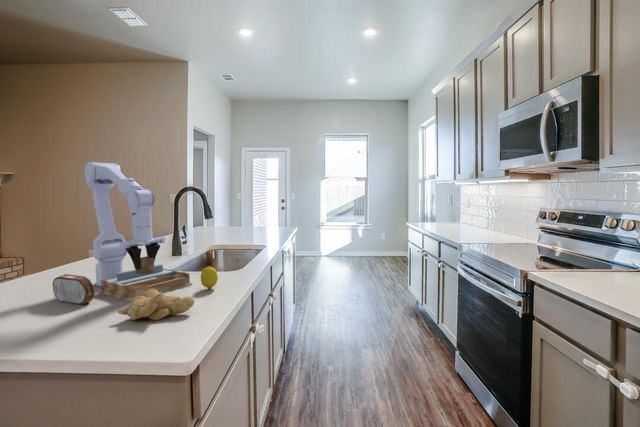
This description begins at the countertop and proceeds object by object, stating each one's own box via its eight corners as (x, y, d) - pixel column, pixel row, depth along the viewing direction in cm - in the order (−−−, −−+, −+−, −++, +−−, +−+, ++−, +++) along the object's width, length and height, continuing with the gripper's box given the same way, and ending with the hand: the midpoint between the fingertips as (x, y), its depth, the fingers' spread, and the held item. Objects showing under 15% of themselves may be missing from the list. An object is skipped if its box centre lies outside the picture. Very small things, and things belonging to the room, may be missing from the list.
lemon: (213, 291, 119) (212, 268, 119) (197, 291, 121) (197, 267, 120) (220, 287, 125) (220, 264, 124) (206, 286, 126) (205, 264, 125)
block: (142, 274, 116) (142, 259, 115) (135, 273, 118) (135, 258, 118) (154, 272, 119) (153, 257, 119) (147, 271, 121) (147, 256, 121)
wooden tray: (99, 292, 120) (99, 280, 120) (161, 278, 139) (161, 267, 139) (130, 301, 110) (129, 288, 110) (192, 284, 129) (191, 273, 129)
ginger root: (109, 313, 96) (116, 283, 97) (166, 311, 108) (171, 285, 109) (134, 329, 86) (141, 296, 87) (193, 326, 98) (199, 296, 99)
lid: (105, 282, 120) (105, 273, 120) (159, 270, 137) (159, 262, 137) (119, 285, 116) (118, 276, 116) (173, 273, 132) (172, 264, 132)
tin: (96, 303, 109) (94, 276, 108) (86, 306, 106) (84, 278, 105) (61, 298, 114) (60, 272, 113) (51, 301, 111) (49, 275, 110)
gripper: (126, 229, 109) (129, 273, 110) (169, 224, 121) (171, 264, 122) (114, 228, 113) (117, 270, 114) (157, 224, 125) (159, 262, 126)
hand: (144, 267), depth 119 cm, fingers closed on block, 4 cm apart
